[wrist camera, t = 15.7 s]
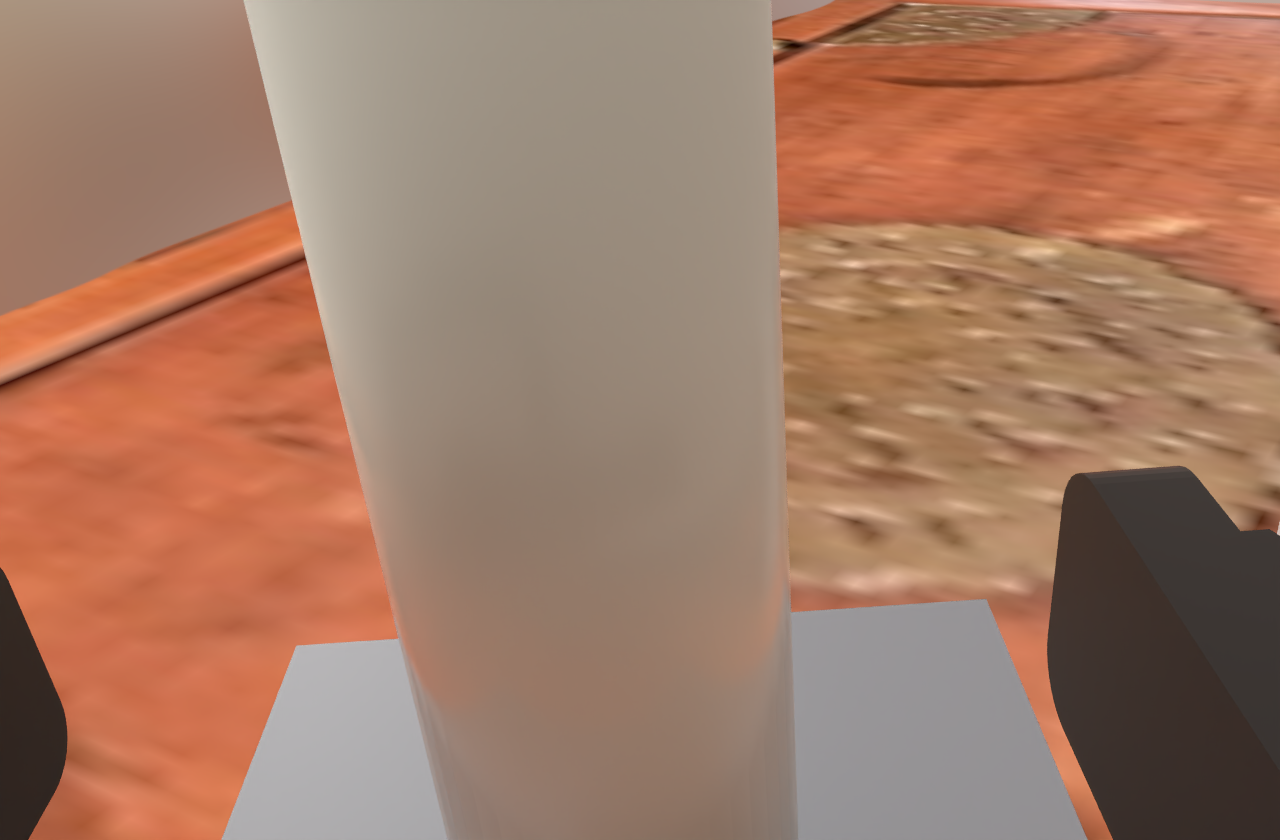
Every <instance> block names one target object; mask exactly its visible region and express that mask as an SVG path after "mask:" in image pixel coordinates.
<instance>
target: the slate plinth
mask: <svg viewBox="0 0 1280 840" xmlns="http://www.w3.org/2000/svg"><path fill="white" fill-rule="evenodd" d="M791 623H792V654H793V685H794V715H795V746H796V777H797V807H798V838H799V840H1087V837H1086V835H1085V833H1084V830H1083V828H1082V825H1081V823H1080V821H1079V818H1078V816H1077V814H1076V811H1075V809H1074V807H1073V804H1072V802H1071V799H1070V797H1069V795H1068V792H1067V790H1066V788H1065V785H1064V783H1063V780H1062V778H1061V776H1060V773H1059V771H1058V769H1057V766H1056V764H1055V761H1054V759H1053V757H1052V754H1051V752H1050V750H1049V747H1048V745H1047V742H1046V740H1045V738H1044V735H1043V733H1042V731H1041V728H1040V726H1039V723H1038V721H1037V719H1036V716H1035V714H1034V712H1033V709H1032V707H1031V704H1030V702H1029V700H1028V697H1027V695H1026V693H1025V690H1024V688H1023V685H1022V683H1021V681H1020V678H1019V676H1018V674H1017V671H1016V669H1015V666H1014V664H1013V662H1012V659H1011V657H1010V655H1009V652H1008V650H1007V647H1006V645H1005V643H1004V640H1003V638H1002V636H1001V633H1000V631H999V628H998V626H997V624H996V621H995V619H994V617H993V614H992V612H991V609H990V607H989V605H988V602H987V600H986V599H981V600H966V601H951V602H936V603H922V604H907V605H892V606H877V607H862V608H848V609H833V610H818V611H803V612H791ZM222 840H447V836H446V832H445V828H444V824H443V819H442V815H441V811H440V807H439V803H438V799H437V795H436V791H435V786H434V782H433V778H432V774H431V770H430V766H429V762H428V758H427V754H426V749H425V745H424V741H423V737H422V733H421V729H420V725H419V721H418V716H417V712H416V708H415V704H414V700H413V696H412V692H411V688H410V684H409V679H408V675H407V671H406V667H405V663H404V659H403V655H402V651H401V646H400V642H399V639H390V640H375V641H360V642H345V643H330V644H316V645H301V646H296V649H295V651H294V654H293V656H292V659H291V661H290V664H289V667H288V669H287V672H286V674H285V677H284V680H283V682H282V685H281V687H280V690H279V693H278V695H277V698H276V700H275V703H274V705H273V708H272V711H271V713H270V716H269V718H268V721H267V724H266V726H265V729H264V731H263V734H262V736H261V739H260V742H259V744H258V747H257V749H256V752H255V755H254V757H253V760H252V762H251V765H250V768H249V770H248V773H247V775H246V778H245V780H244V783H243V786H242V788H241V791H240V793H239V796H238V799H237V801H236V804H235V806H234V809H233V811H232V814H231V817H230V819H229V822H228V824H227V827H226V830H225V832H224V835H223V837H222Z"/></svg>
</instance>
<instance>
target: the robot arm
mask: <svg viewBox="0 0 1280 840" xmlns="http://www.w3.org/2000/svg"><path fill="white" fill-rule="evenodd" d="M1047 656H1048V670H1049V678H1050V684H1051V690H1052V695H1053V699H1054V703H1055V707H1056V711H1057V714H1058V717H1059V720H1060V722H1061V725H1062V727H1063V729H1064V732H1065V734H1066V736H1067V738H1068V741H1069V743H1070V745H1071V747H1072V749H1073V752H1074V754H1075V756H1076V758H1077V760H1078V763H1079V765H1080V767H1081V769H1082V771H1083V774H1084V776H1085V778H1086V780H1087V782H1088V785H1089V787H1090V789H1091V791H1092V794H1093V796H1094V798H1095V800H1096V802H1097V805H1098V807H1099V809H1100V811H1101V813H1102V816H1103V818H1104V820H1105V822H1106V824H1107V827H1108V829H1109V831H1110V833H1111V836H1112V838H1113V840H1280V536H1279V535H1278V534H1276V533H1275V532H1273V531H1271V530H1270V529H1266V530H1252V531H1240V530H1239V529H1238V528H1237V527H1236V525H1235V524H1234V523H1233V522H1232V520H1231V519H1230V518H1229V517H1228V515H1227V514H1226V513H1225V512H1224V510H1223V509H1222V508H1221V507H1220V505H1219V504H1218V503H1217V502H1216V500H1215V499H1214V498H1213V497H1212V495H1211V494H1210V493H1209V492H1208V490H1207V489H1206V488H1205V487H1204V485H1203V484H1202V483H1201V482H1200V480H1199V479H1198V478H1197V477H1196V476H1195V475H1194V474H1193V473H1192V472H1191V471H1190V470H1189V469H1187V468H1186V467H1182V466H1170V467H1157V468H1143V469H1130V470H1117V471H1103V472H1090V473H1078V474H1075V475H1074V476H1072V477H1071V479H1070V480H1069V482H1068V484H1067V487H1066V489H1065V493H1064V498H1063V504H1062V513H1061V522H1060V531H1059V540H1058V549H1057V558H1056V567H1055V576H1054V585H1053V594H1052V603H1051V612H1050V621H1049V630H1048V642H1047ZM66 753H67V725H66V718H65V713H64V709H63V706H62V704H61V701H60V698H59V696H58V694H57V692H56V689H55V687H54V685H53V682H52V680H51V678H50V675H49V673H48V671H47V669H46V666H45V664H44V662H43V659H42V657H41V655H40V652H39V650H38V648H37V646H36V643H35V641H34V639H33V636H32V634H31V632H30V629H29V627H28V625H27V623H26V620H25V618H24V616H23V613H22V611H21V609H20V606H19V604H18V602H17V599H16V597H15V595H14V593H13V590H12V588H11V586H10V583H9V581H8V579H7V577H6V575H5V573H4V572H3V570H2V569H1V568H0V840H28V839H29V837H30V835H31V834H32V832H33V830H34V828H35V826H36V825H37V823H38V821H39V819H40V818H41V816H42V814H43V812H44V810H45V809H46V807H47V805H48V803H49V802H50V800H51V798H52V796H53V794H54V793H55V791H56V788H57V786H58V784H59V782H60V779H61V776H62V773H63V769H64V765H65V760H66Z"/></svg>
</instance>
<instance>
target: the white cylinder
mask: <svg viewBox="0 0 1280 840" xmlns="http://www.w3.org/2000/svg"><path fill="white" fill-rule="evenodd" d="M244 4H245V8H246V12H247V16H248V20H249V25H250V28H251V33H252V37H253V41H254V45H255V49H256V53H257V57H258V62H259V66H260V70H261V74H262V78H263V82H264V86H265V90H266V95H267V99H268V103H269V107H270V111H271V115H272V119H273V123H274V128H275V132H276V135H277V140H278V144H279V148H280V152H281V156H282V161H283V165H284V169H285V173H286V177H287V181H288V185H289V189H290V193H291V198H292V202H293V206H294V210H295V214H296V218H297V222H298V226H299V231H300V235H301V239H302V243H303V247H304V251H305V255H306V259H307V263H308V268H309V272H310V276H311V280H312V284H313V288H314V292H315V296H316V301H317V305H318V309H319V313H320V317H321V321H322V325H323V329H324V333H325V338H326V342H327V346H328V350H329V354H330V358H331V362H332V366H333V371H334V375H335V379H336V383H337V387H338V391H339V395H340V399H341V403H342V408H343V412H344V416H345V420H346V424H347V428H348V432H349V436H350V441H351V445H352V449H353V453H354V457H355V461H356V465H357V469H358V473H359V478H360V482H361V486H362V490H363V494H364V498H365V502H366V506H367V511H368V515H369V519H370V523H371V527H372V531H373V535H374V539H375V544H376V548H377V552H378V556H379V560H380V564H381V568H382V572H383V576H384V581H385V585H386V589H387V593H388V597H389V601H390V605H391V609H392V614H393V618H394V622H395V626H396V630H397V634H398V638H399V642H400V646H401V651H402V655H403V659H404V663H405V667H406V671H407V675H408V679H409V684H410V688H411V692H412V696H413V700H414V704H415V708H416V712H417V716H418V721H419V725H420V729H421V733H422V737H423V741H424V745H425V749H426V754H427V758H428V762H429V766H430V770H431V774H432V778H433V782H434V786H435V791H436V795H437V799H438V803H439V807H440V811H441V815H442V819H443V824H444V828H445V832H446V836H447V840H799V838H798V807H797V777H796V746H795V715H794V685H793V654H792V623H791V593H790V562H789V531H788V501H787V470H786V439H785V409H784V378H783V347H782V317H781V286H780V255H779V225H778V194H777V163H776V133H775V102H774V71H773V41H772V11H771V0H244Z"/></svg>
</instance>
